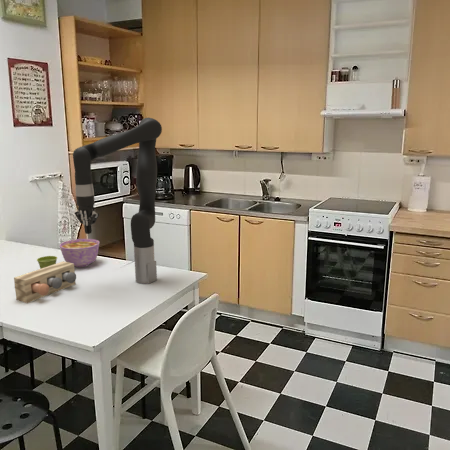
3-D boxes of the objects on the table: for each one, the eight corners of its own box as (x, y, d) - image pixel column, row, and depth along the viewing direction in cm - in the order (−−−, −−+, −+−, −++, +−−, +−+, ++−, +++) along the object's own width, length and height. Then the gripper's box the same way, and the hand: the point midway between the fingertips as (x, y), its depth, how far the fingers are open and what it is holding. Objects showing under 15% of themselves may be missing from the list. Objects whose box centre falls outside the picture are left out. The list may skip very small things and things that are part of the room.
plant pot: (34, 277, 224) (32, 260, 222) (48, 271, 232) (46, 254, 230) (49, 279, 221) (47, 262, 219) (62, 273, 229) (61, 256, 227)
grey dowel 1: (62, 286, 203) (61, 276, 202) (53, 290, 199) (52, 279, 198) (45, 282, 208) (44, 272, 207) (36, 285, 204) (35, 275, 203)
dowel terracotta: (49, 293, 196) (48, 282, 195) (40, 296, 192) (38, 286, 190) (32, 288, 201) (31, 278, 200) (23, 292, 197) (21, 281, 196)
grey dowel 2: (76, 281, 210) (75, 271, 209) (68, 284, 206) (67, 274, 205) (60, 277, 215) (59, 267, 214) (51, 280, 211) (50, 270, 210)
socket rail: (75, 284, 214) (73, 263, 212) (27, 303, 193) (24, 280, 190) (65, 281, 218) (63, 261, 216) (16, 299, 196) (13, 277, 194)
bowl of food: (59, 261, 248) (58, 240, 245) (98, 257, 256) (96, 237, 253) (62, 272, 230) (60, 250, 227) (103, 267, 238) (102, 246, 235)
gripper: (102, 194, 199) (105, 233, 203) (80, 192, 205) (84, 230, 209) (89, 196, 193) (93, 237, 196) (67, 194, 199) (71, 233, 203)
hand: (88, 233), depth 203 cm, fingers closed
